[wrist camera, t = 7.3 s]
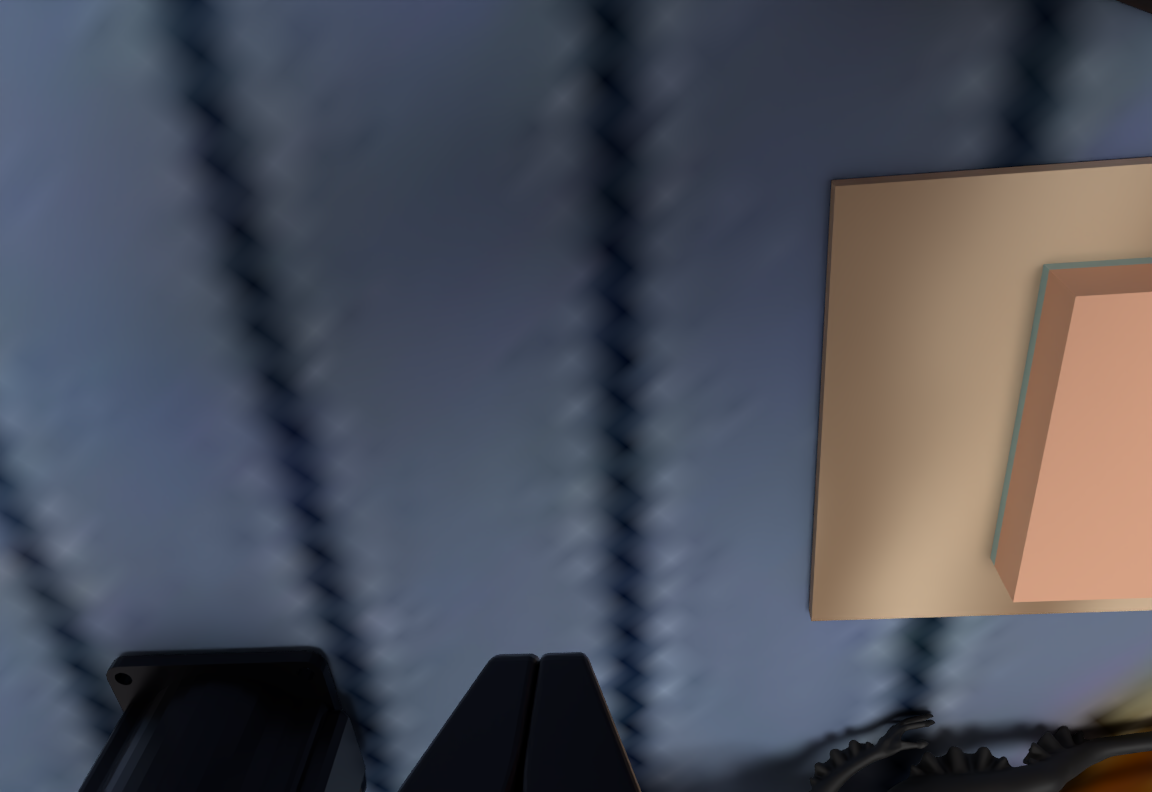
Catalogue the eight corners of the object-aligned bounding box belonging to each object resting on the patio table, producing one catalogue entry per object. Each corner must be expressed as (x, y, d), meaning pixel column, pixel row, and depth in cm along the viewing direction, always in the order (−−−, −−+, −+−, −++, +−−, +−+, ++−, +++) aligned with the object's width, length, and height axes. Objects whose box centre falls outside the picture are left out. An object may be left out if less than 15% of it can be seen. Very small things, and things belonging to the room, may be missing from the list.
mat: (808, 610, 25) (811, 621, 25) (831, 180, 19) (835, 186, 19) (1358, 592, 24) (1369, 602, 23) (1573, 125, 18) (1591, 131, 17)
